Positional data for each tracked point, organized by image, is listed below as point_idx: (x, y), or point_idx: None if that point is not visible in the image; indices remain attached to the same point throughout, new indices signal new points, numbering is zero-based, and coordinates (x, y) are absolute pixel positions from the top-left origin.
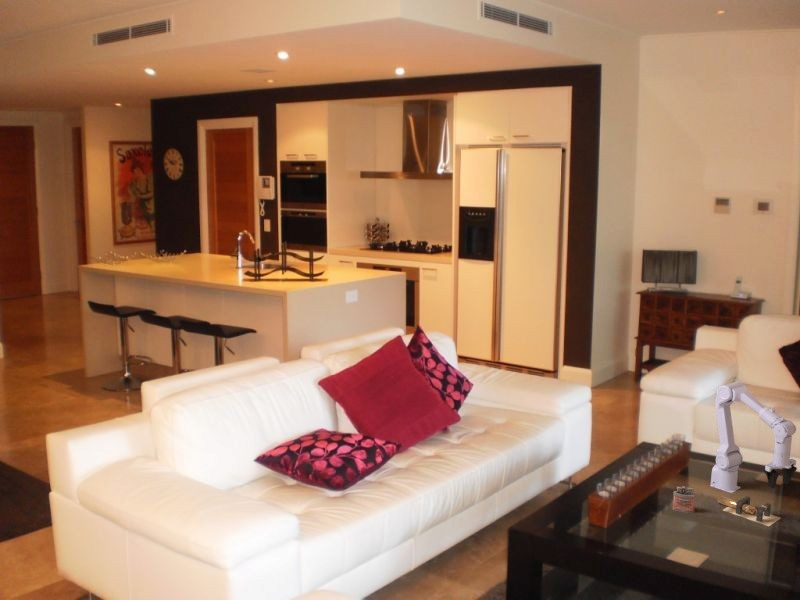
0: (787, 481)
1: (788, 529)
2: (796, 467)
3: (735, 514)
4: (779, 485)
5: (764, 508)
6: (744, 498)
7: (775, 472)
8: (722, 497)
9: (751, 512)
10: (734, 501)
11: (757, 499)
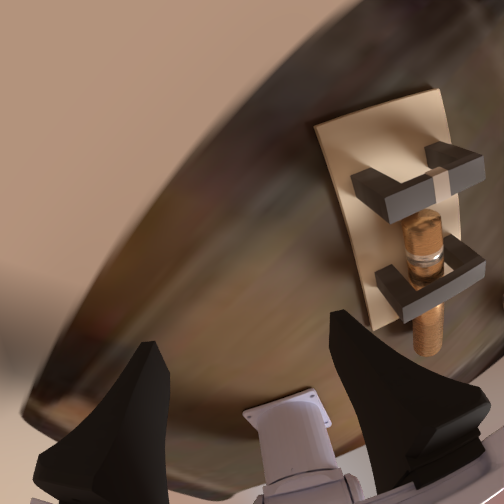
0: (151, 365)
1: (362, 26)
2: (35, 482)
3: (460, 240)
4: (82, 392)
5: (456, 166)
6: (434, 301)
7: (446, 439)
8: (439, 341)
9: (435, 215)
10: (441, 305)
11: (248, 341)
